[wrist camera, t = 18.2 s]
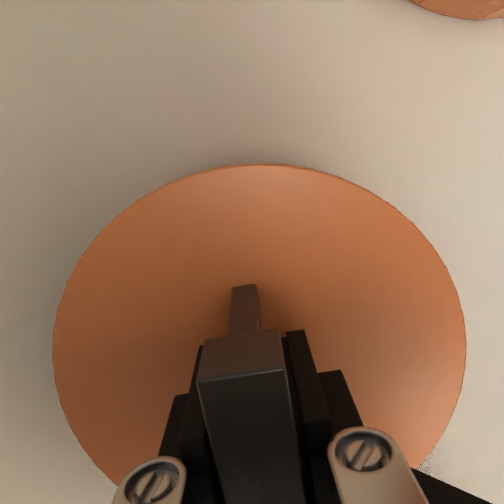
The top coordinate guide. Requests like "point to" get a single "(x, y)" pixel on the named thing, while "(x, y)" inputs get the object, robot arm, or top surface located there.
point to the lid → (255, 322)
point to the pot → (465, 8)
